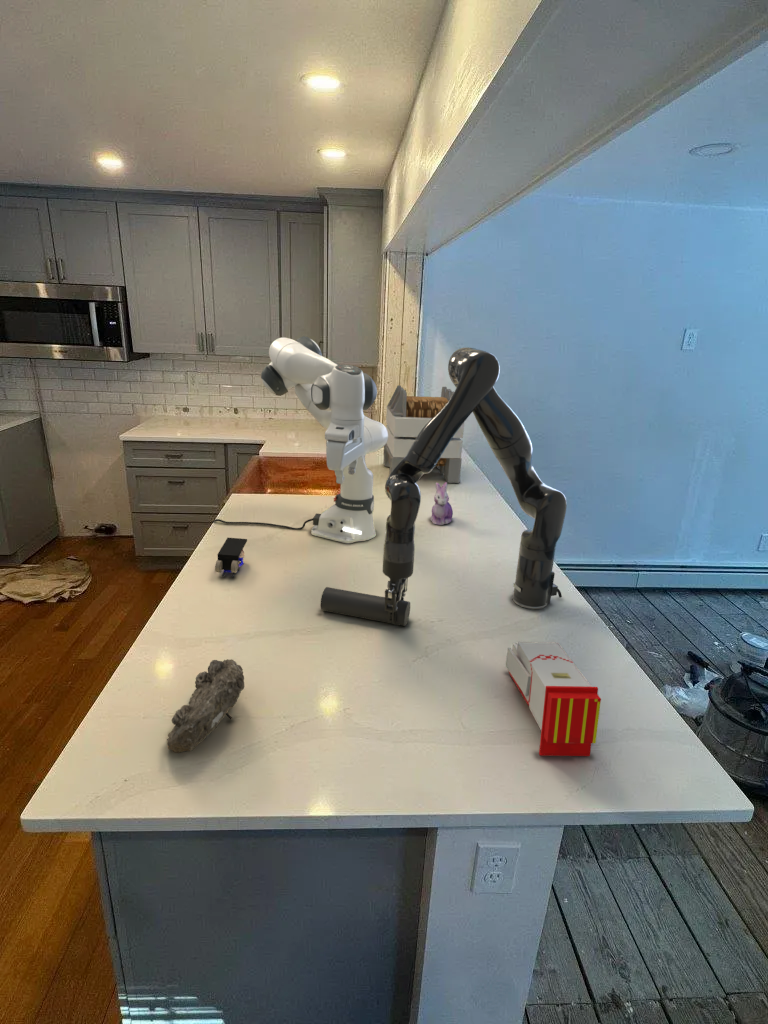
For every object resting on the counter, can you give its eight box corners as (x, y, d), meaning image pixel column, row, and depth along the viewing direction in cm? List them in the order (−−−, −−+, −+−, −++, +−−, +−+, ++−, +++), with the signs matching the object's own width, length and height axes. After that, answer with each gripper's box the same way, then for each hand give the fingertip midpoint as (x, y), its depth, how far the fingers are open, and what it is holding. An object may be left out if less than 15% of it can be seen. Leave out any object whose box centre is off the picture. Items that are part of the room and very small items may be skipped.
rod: (320, 614, 146) (320, 593, 143) (329, 603, 151) (329, 583, 149) (403, 630, 140) (405, 608, 138) (409, 618, 146) (411, 597, 144)
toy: (554, 624, 127) (610, 694, 97) (548, 679, 130) (602, 763, 100) (500, 623, 126) (541, 693, 97) (496, 678, 129) (534, 763, 100)
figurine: (438, 527, 207) (441, 488, 202) (423, 518, 216) (426, 480, 211) (459, 523, 211) (463, 485, 206) (444, 514, 220) (447, 477, 215)
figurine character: (238, 584, 162) (249, 557, 175) (236, 562, 158) (247, 536, 172) (215, 584, 161) (227, 556, 175) (212, 561, 158) (225, 535, 171)
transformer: (382, 463, 289) (386, 382, 275) (445, 464, 293) (451, 384, 279) (390, 482, 257) (394, 392, 243) (460, 483, 261) (468, 394, 247)
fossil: (192, 660, 117) (244, 628, 112) (224, 691, 120) (276, 661, 115) (142, 746, 98) (202, 712, 93) (182, 779, 101) (242, 748, 96)
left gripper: (349, 420, 161) (348, 467, 166) (322, 434, 142) (321, 487, 147) (370, 422, 159) (368, 470, 164) (345, 437, 141) (344, 490, 145)
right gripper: (406, 570, 130) (402, 633, 136) (420, 546, 143) (416, 605, 149) (375, 564, 132) (372, 627, 137) (391, 542, 145) (388, 600, 151)
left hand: (346, 478), depth 155 cm, fingers open, 8 cm apart
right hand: (395, 615), depth 143 cm, fingers closed on rod, 6 cm apart
